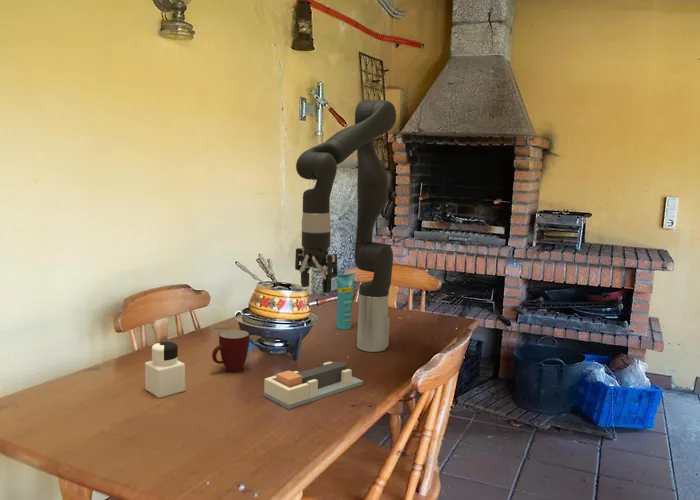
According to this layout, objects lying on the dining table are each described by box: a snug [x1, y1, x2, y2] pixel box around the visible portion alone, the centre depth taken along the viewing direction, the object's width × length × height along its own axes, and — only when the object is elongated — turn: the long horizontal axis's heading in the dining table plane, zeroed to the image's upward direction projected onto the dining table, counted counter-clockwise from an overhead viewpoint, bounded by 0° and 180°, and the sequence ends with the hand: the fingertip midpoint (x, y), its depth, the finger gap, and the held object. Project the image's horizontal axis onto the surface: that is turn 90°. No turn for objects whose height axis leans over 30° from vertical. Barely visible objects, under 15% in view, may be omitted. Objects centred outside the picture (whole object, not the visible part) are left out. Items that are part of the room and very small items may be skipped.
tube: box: [336, 272, 356, 330], centre depth 205 cm, size 7×5×19 cm, turn 134°
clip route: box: [263, 361, 364, 410], centre depth 150 cm, size 24×10×4 cm, turn 134°
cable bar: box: [275, 360, 349, 389], centre depth 150 cm, size 20×5×5 cm, turn 134°
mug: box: [211, 329, 250, 373], centre depth 161 cm, size 10×8×10 cm
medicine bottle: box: [144, 341, 186, 399], centre depth 146 cm, size 7×7×12 cm
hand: (315, 289), depth 158 cm, fingers open, 8 cm apart
